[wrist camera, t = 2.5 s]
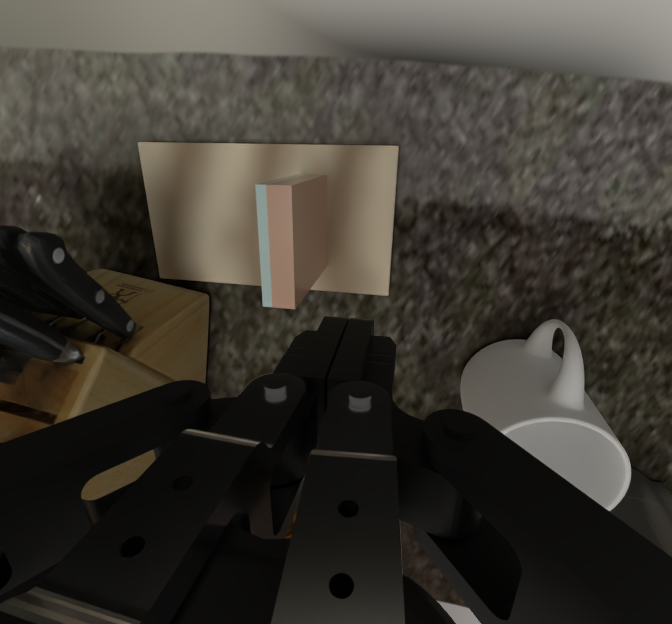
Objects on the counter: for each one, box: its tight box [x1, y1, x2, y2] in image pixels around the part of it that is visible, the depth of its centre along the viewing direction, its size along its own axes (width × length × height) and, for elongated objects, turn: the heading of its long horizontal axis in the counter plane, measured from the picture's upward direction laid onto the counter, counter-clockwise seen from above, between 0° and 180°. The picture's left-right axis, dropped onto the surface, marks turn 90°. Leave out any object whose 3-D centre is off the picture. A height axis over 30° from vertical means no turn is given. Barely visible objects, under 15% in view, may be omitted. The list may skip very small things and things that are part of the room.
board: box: [138, 142, 399, 296], centre depth 32 cm, size 20×11×1 cm, turn 89°
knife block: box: [0, 225, 209, 500], centre depth 26 cm, size 11×35×31 cm, turn 170°
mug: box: [460, 319, 631, 511], centre depth 28 cm, size 9×12×11 cm
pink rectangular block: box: [255, 174, 327, 309], centre depth 26 cm, size 2×7×9 cm, turn 179°
